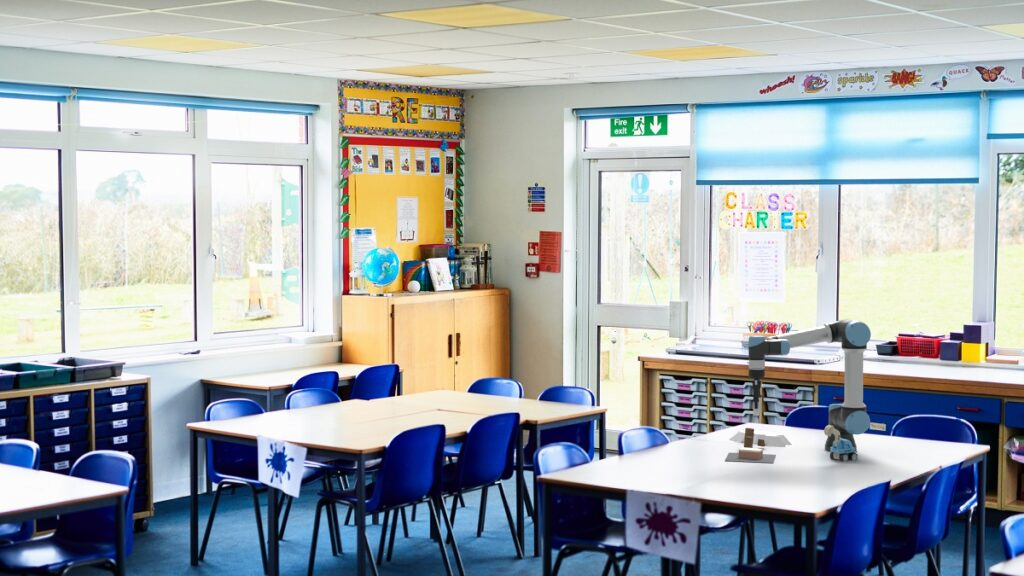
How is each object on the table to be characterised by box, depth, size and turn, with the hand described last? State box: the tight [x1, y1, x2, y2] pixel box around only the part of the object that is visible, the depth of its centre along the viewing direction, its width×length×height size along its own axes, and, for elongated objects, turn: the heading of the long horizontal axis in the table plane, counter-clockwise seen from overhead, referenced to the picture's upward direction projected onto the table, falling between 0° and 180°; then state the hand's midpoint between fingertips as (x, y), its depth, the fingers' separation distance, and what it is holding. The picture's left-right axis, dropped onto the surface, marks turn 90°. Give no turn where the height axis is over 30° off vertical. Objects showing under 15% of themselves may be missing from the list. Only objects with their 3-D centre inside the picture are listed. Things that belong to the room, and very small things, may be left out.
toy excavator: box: [823, 424, 858, 462], centre depth 571 cm, size 9×17×17 cm, turn 117°
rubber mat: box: [724, 452, 776, 465], centre depth 575 cm, size 22×22×1 cm
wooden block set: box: [743, 427, 766, 448], centre depth 599 cm, size 18×9×10 cm, turn 151°
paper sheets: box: [728, 429, 793, 448], centre depth 623 cm, size 35×20×6 cm, turn 48°
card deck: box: [738, 446, 764, 459], centre depth 575 cm, size 6×10×4 cm, turn 64°
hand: (756, 413), depth 577 cm, fingers open, 13 cm apart
